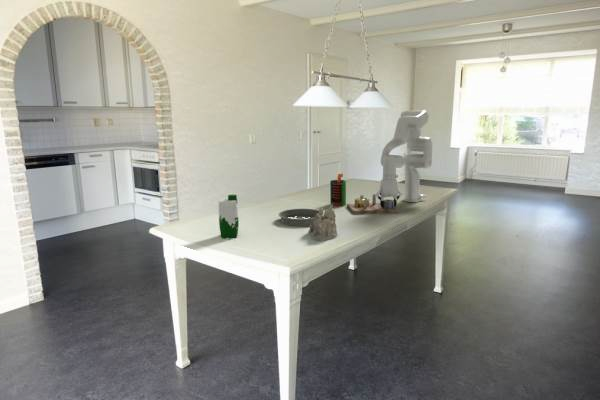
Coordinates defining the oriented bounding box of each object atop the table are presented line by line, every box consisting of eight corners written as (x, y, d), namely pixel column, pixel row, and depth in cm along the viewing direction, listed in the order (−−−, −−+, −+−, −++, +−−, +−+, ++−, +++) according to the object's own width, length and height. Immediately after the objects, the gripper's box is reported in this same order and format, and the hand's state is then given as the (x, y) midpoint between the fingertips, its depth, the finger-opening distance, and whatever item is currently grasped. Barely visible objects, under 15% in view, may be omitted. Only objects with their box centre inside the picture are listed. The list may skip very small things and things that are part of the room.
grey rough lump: (317, 228, 209) (317, 200, 205) (344, 235, 198) (344, 206, 194) (297, 237, 198) (296, 207, 194) (323, 245, 187) (323, 214, 183)
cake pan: (269, 221, 227) (269, 213, 227) (303, 214, 243) (303, 206, 242) (298, 229, 209) (298, 221, 208) (332, 221, 224) (332, 213, 223)
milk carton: (238, 238, 194) (236, 196, 190) (219, 239, 194) (216, 197, 190) (239, 233, 203) (238, 193, 199) (221, 233, 202) (219, 194, 198)
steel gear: (392, 206, 249) (392, 199, 248) (395, 209, 243) (395, 201, 242) (381, 206, 249) (381, 199, 248) (384, 209, 242) (384, 201, 241)
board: (387, 205, 261) (387, 192, 259) (397, 212, 242) (397, 198, 240) (346, 207, 259) (347, 193, 257) (353, 214, 239) (354, 200, 238)
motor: (328, 205, 265) (328, 174, 261) (333, 202, 273) (334, 172, 269) (343, 206, 260) (343, 175, 256) (348, 204, 268) (348, 173, 264)
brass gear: (367, 203, 258) (367, 197, 257) (370, 206, 249) (370, 200, 248) (353, 204, 257) (353, 198, 256) (356, 207, 249) (356, 200, 248)
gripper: (401, 176, 246) (400, 205, 250) (373, 176, 245) (372, 206, 248) (405, 178, 239) (404, 207, 243) (376, 178, 238) (375, 208, 241)
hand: (388, 206), depth 246 cm, fingers closed on steel gear, 6 cm apart
